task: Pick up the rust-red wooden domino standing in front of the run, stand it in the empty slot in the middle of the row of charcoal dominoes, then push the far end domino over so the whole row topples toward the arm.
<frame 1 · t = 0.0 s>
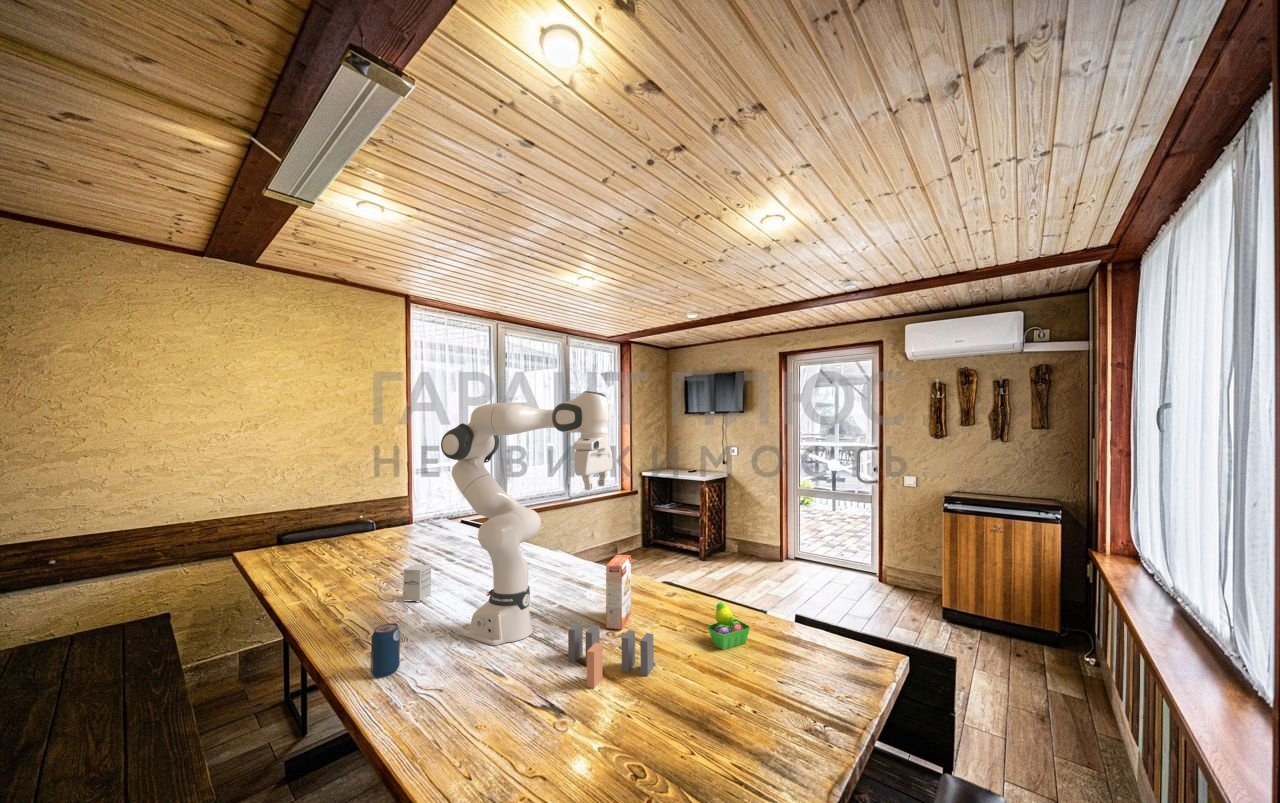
hand: (595, 487, 144), 48 cm above the table, tool pointing down, fingers open, 8 cm apart
domino 4: (592, 661, 132), on the table
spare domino: (594, 682, 121), on the table
fruit basket: (728, 643, 143), on the table
domino 2: (628, 667, 129), on the table
domino end: (647, 671, 127), on the table
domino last: (575, 658, 134), on the table
cracker box: (619, 621, 160), on the table
supplement box: (416, 599, 183), on the table
soda can: (385, 673, 128), on the table
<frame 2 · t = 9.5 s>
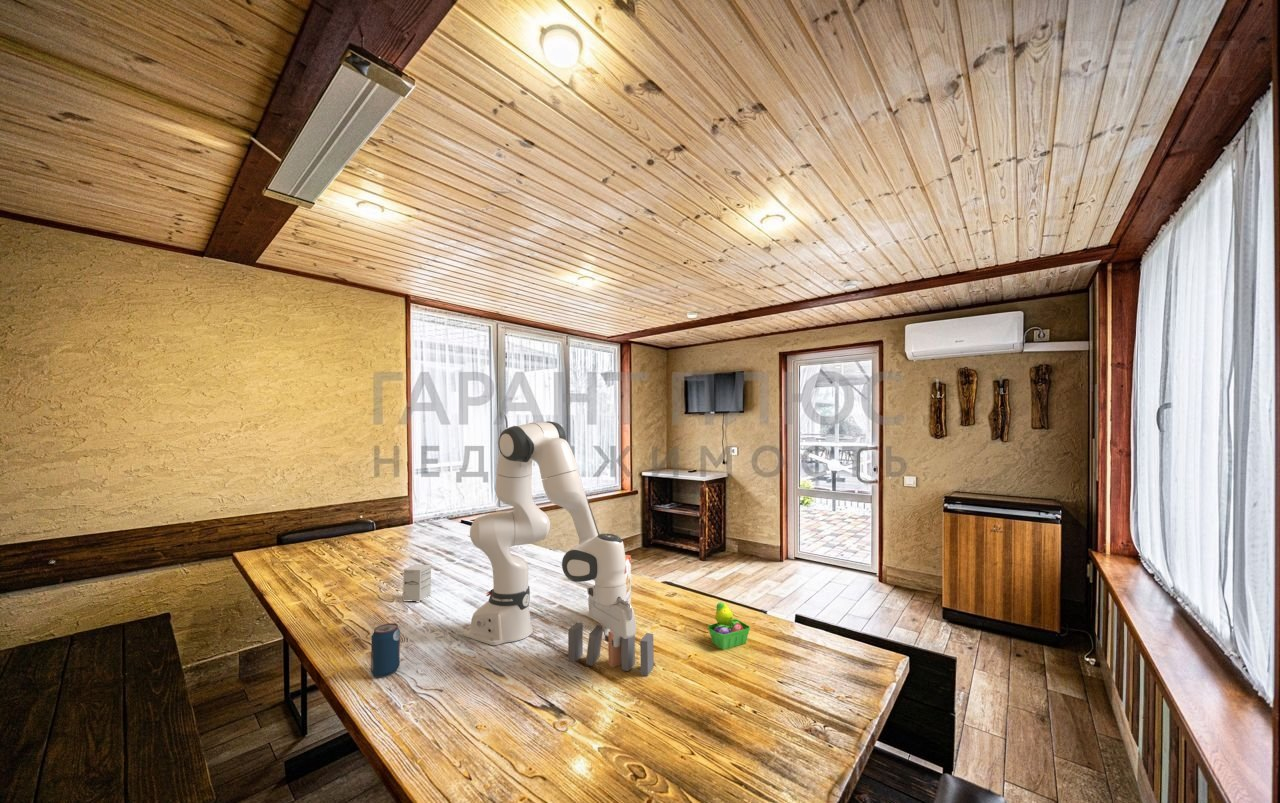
hand: (612, 643, 130), 6 cm above the table, tool pointing down, fingers closed
domino 4: (592, 660, 132), on the table, tilted 12°, touching gripper
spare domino: (617, 663, 131), on the table
domino 2: (628, 666, 129), on the table, tilted 5°, touching gripper
everything else where it was.
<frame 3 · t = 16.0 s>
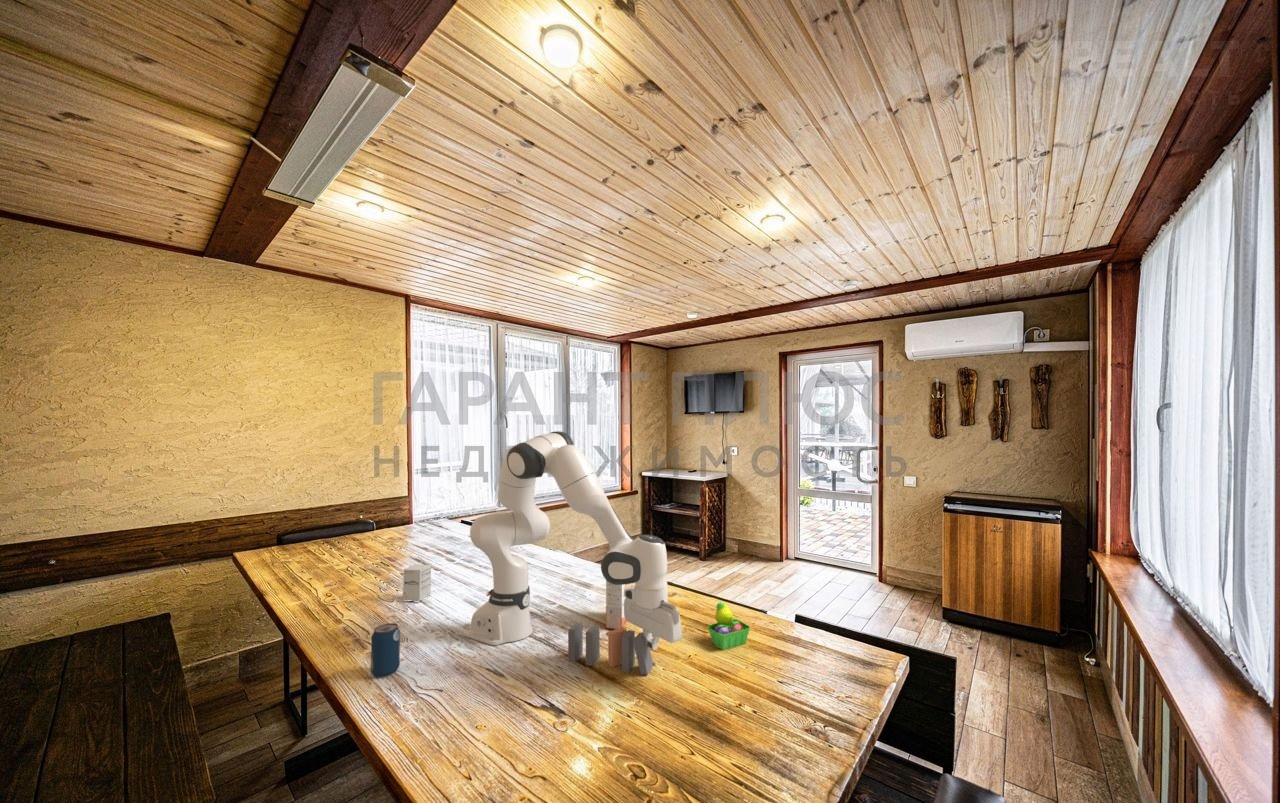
hand: (651, 647, 127), 6 cm above the table, tool pointing down, fingers closed
domino 4: (592, 661, 132), on the table
domino 2: (628, 667, 129), on the table
domino end: (647, 670, 127), on the table, tilted 14°
everything else where it was.
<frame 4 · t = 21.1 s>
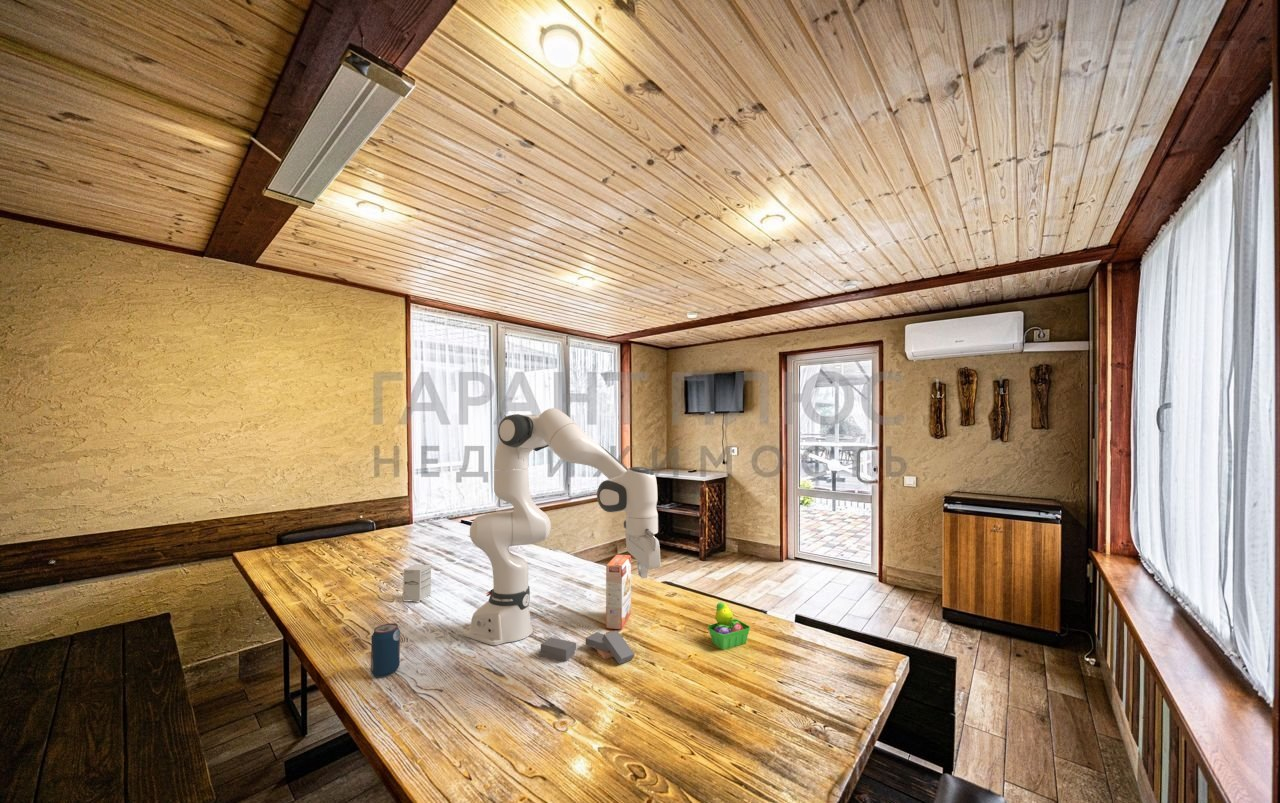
hand: (642, 576, 129), 25 cm above the table, tool pointing down, fingers closed
domino 4: (571, 649, 134), point 2 cm above the table, tilted 90°
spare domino: (612, 655, 135), on the table, tilted 90°, touching domino 2
domino 2: (613, 645, 137), point 2 cm above the table, tilted 90°, touching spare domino
domino end: (627, 659, 131), point 1 cm above the table, tilted 63°
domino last: (570, 655, 135), on the table, tilted 90°
everything else where it was.
at the end: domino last tilted 90°; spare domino tilted 90° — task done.
